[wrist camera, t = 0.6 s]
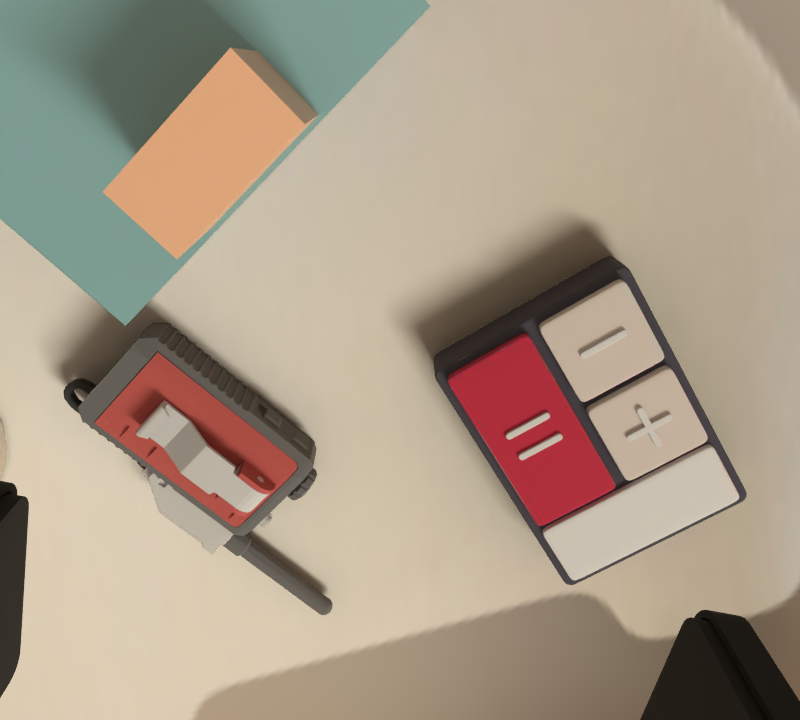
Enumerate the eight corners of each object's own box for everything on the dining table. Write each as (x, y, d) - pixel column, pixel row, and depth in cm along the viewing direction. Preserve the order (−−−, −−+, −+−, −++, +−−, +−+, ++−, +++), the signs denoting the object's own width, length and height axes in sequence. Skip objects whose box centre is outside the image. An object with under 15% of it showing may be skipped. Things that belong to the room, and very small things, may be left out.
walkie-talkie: (49, 406, 42) (320, 606, 48) (13, 443, 38) (313, 658, 43) (145, 295, 40) (418, 518, 45) (118, 321, 36) (421, 563, 41)
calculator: (630, 265, 36) (756, 506, 40) (608, 249, 40) (724, 469, 44) (431, 378, 38) (570, 597, 42) (429, 352, 42) (556, 554, 46)
